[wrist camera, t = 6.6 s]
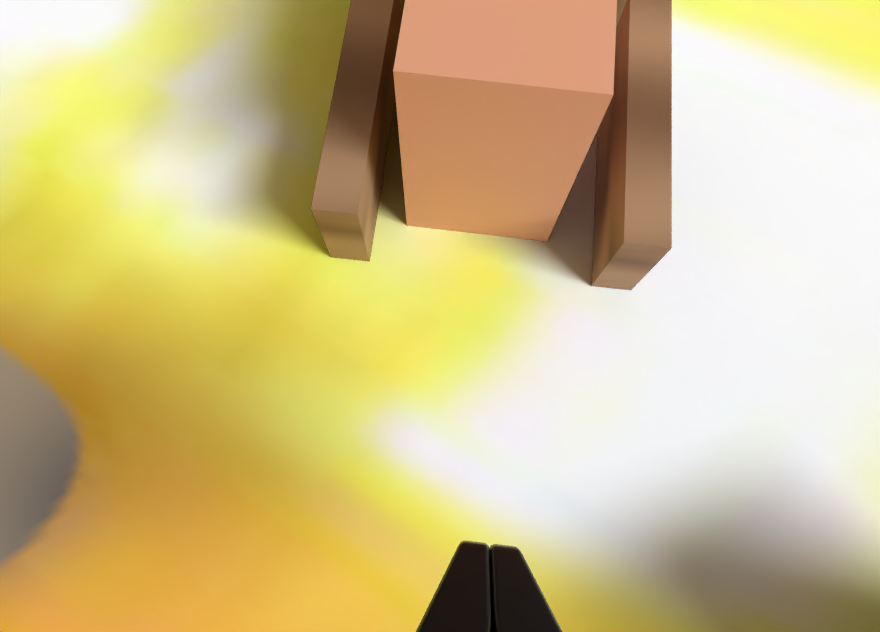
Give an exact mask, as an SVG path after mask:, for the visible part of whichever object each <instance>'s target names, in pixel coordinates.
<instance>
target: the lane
mask: <svg viewBox="0 0 880 632" xmlns="http://www.w3.org/2000/svg"><path fill="white" fill-rule="evenodd" d="M404 4H405V0H351V4H350V10H349V15H348V20H347V25H346V30H345V35H344V40H343V46H342V51H341V56H340V61H339V66H338V71H337V76H336V82H335V87H334V92H333V97H332V102H331V107H330V112H329V118H328V123H327V128H326V133H325V138H324V143H323V148H322V154H321V159H320V164H319V169H318V174H317V179H316V184H315V190H314V195H313V200H312V205H311V211H312V213H313V215H314V218H315V220H316V223H317V225H318V227H319V230H320V232H321V235H322V237H323V239H324V242H325V244H326V247H327V249H328V251H329V254H330V256H331V257H335V258H344V259H353V260H362V261H370V256H371V250H372V243H373V237H374V231H375V224H376V218H377V212H378V205H379V199H380V193H381V187H382V180H383V174H384V168H385V161H386V155H387V149H388V142H389V136H390V130H391V123H392V117H393V111H394V104H395V98H396V97H395V86H394V74H393V69H394V63H395V57H396V51H397V45H398V39H399V33H400V27H401V21H402V15H403V9H404ZM670 249H671V0H617V17H616V43H615V68H614V93H613V97H612V99H611V101H610V104H609V106H608V108H607V110H606V112H605V115H604V117H603V119H602V121H601V123H600V126H599V128H598V143H597V167H596V191H595V215H594V239H593V263H592V286H598V287H607V288H616V289H625V290H632V289H633V288H634V287H635V286H636V285H637V283H638V282H639V281H640V280H641V279H642V278H643V277H644V276H645V275H646V274H647V273H648V272H649V271H650V270H651V269H652V268H653V267H654V266H655V265H656V264H657V263H658V262H659V261H660V260H661V259H662V257H663V256H664V255H665V254H666V253H667V252H668V251H669V250H670Z"/></svg>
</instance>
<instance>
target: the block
mask: <svg viewBox="0 0 880 632" xmlns="http://www.w3.org/2000/svg"><path fill="white" fill-rule="evenodd" d="M616 17H617V0H405V4H404V9H403V15H402V21H401V27H400V33H399V39H398V45H397V51H396V57H395V63H394V69H393V74H394V86H395V97H396V108H397V119H398V131H399V142H400V153H401V165H402V176H403V187H404V199H405V210H406V221H407V226H416V227H425V228H433V229H442V230H451V231H460V232H469V233H477V234H486V235H495V236H504V237H513V238H521V239H530V240H539V241H548V238H549V236H550V234H551V232H552V229H553V227H554V225H555V223H556V221H557V218H558V216H559V214H560V212H561V210H562V207H563V205H564V203H565V201H566V199H567V196H568V194H569V192H570V190H571V187H572V185H573V183H574V181H575V179H576V176H577V174H578V172H579V170H580V168H581V165H582V163H583V161H584V159H585V157H586V154H587V152H588V150H589V148H590V145H591V143H592V141H593V139H594V137H595V134H596V132H597V130H598V128H599V126H600V123H601V121H602V119H603V117H604V115H605V112H606V110H607V108H608V106H609V104H610V101H611V99H612V97H613V93H614V68H615V43H616Z"/></svg>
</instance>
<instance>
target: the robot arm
mask: <svg viewBox="0 0 880 632" xmlns="http://www.w3.org/2000/svg"><path fill="white" fill-rule="evenodd" d="M416 632H562V630H561V628H560V627H559V625H558V623H557V621H556V619H555V617H554V615H553V613H552V611H551V609H550V607H549V605H548V603H547V601H546V599H545V597H544V595H543V593H542V592H541V590H540V588H539V586H538V584H537V582H536V580H535V578H534V576H533V574H532V572H531V570H530V568H529V566H528V564H527V562H526V560H525V559H524V557H523V555H522V553H521V551H520V550H519V549H518V548H517V547H514V546H506V545H498V544H494V545H491V546H490V548H489V546H488V545H487V544H486V543H481V542H472V541H462V542H461V543H460V544H459V546H458V548H457V550H456V552H455V554H454V556H453V558H452V560H451V562H450V564H449V566H448V568H447V570H446V572H445V574H444V576H443V578H442V580H441V582H440V584H439V586H438V588H437V590H436V592H435V594H434V596H433V598H432V600H431V602H430V604H429V606H428V608H427V610H426V612H425V614H424V616H423V618H422V620H421V623H420V625H419V627H418V629H417V631H416Z"/></svg>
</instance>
